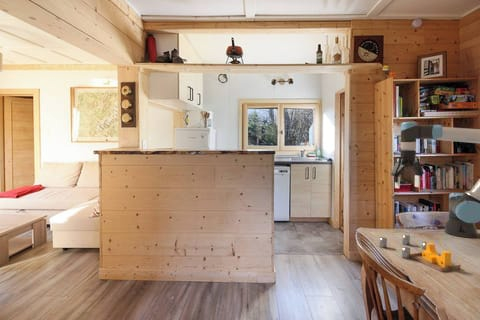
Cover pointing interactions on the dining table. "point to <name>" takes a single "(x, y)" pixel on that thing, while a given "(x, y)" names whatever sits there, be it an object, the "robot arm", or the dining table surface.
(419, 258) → the board
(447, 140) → the robot arm
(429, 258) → the pipe clamp
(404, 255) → the spacers
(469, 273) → the dining table surface
